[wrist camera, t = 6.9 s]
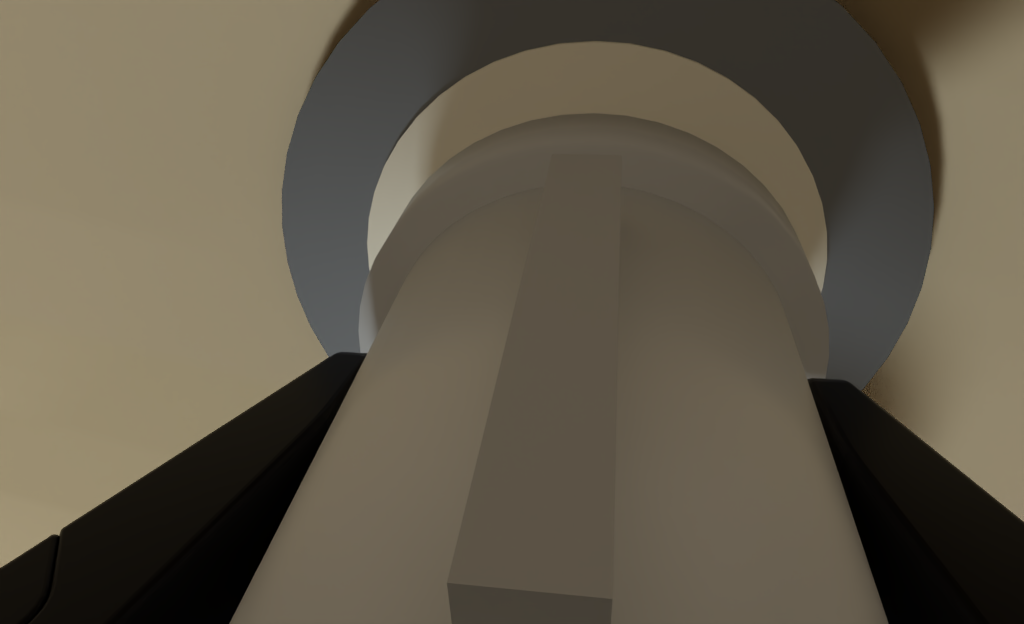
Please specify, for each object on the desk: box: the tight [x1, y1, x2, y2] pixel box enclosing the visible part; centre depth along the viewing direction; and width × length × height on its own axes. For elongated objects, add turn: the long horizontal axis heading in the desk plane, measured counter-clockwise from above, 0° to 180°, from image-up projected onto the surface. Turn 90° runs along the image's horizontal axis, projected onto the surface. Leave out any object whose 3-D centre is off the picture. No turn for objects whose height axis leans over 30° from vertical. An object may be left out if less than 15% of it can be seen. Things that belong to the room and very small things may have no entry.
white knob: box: [229, 113, 889, 624], centre depth 6 cm, size 6×5×7 cm
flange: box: [282, 0, 934, 390], centre depth 11 cm, size 9×9×1 cm
